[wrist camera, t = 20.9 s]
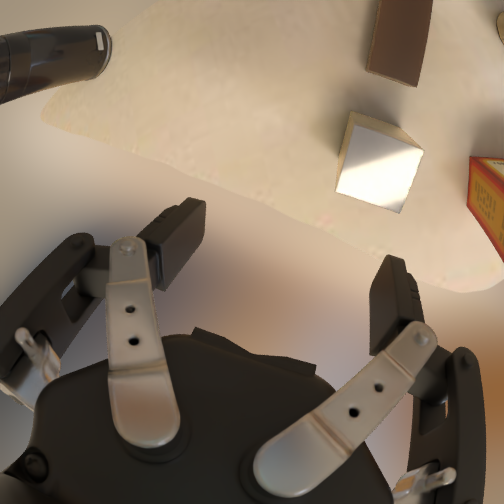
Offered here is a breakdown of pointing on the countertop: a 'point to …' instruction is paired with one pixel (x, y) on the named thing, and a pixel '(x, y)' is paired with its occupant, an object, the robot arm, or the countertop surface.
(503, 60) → the countertop surface
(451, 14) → the countertop surface
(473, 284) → the countertop surface
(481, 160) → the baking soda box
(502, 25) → the flower pot
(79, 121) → the countertop surface
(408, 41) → the riser
